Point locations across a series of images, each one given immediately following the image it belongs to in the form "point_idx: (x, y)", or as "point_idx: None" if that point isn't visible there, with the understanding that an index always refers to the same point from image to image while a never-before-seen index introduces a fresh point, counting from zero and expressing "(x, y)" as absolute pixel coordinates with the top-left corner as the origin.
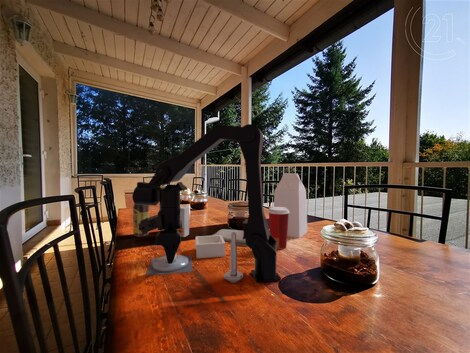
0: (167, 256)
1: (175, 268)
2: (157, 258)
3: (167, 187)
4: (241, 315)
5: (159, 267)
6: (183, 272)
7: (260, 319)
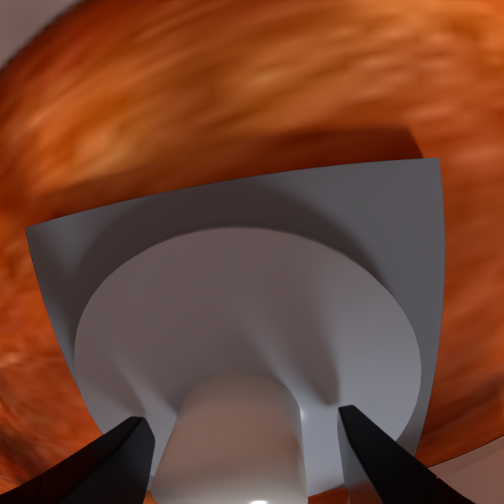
0: (74, 463)
1: None
2: (345, 259)
3: None
4: (3, 483)
5: (81, 338)
6: None
7: None
